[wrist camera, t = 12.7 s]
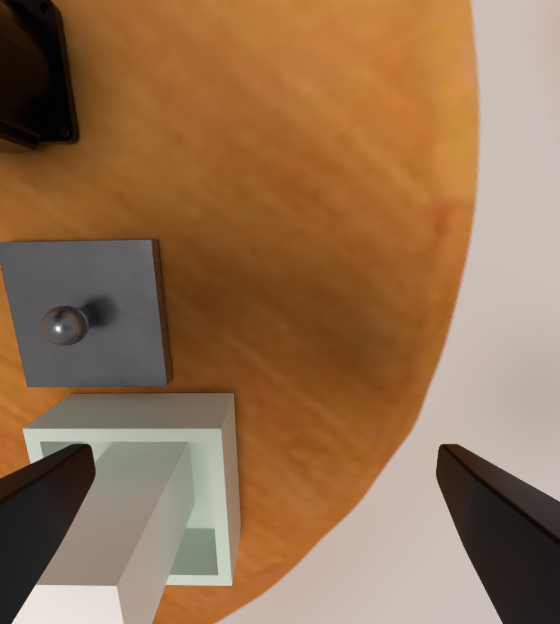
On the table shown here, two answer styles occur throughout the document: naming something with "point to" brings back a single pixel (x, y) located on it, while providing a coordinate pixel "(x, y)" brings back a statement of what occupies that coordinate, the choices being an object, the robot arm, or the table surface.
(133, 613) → the grey tall block
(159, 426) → the bin
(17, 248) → the stud plate
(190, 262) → the table surface
